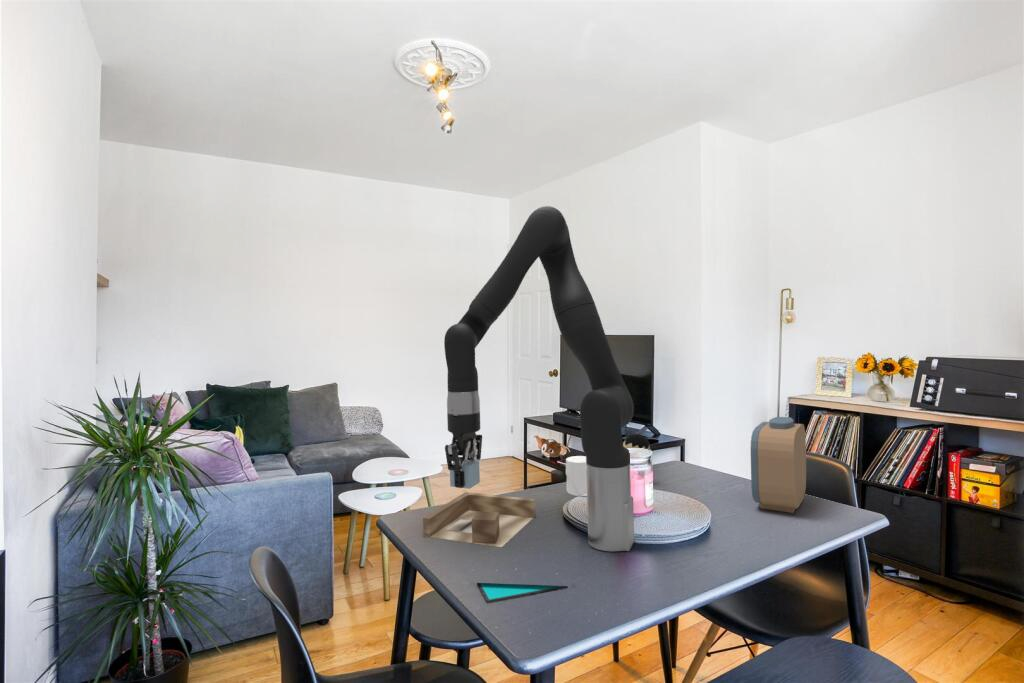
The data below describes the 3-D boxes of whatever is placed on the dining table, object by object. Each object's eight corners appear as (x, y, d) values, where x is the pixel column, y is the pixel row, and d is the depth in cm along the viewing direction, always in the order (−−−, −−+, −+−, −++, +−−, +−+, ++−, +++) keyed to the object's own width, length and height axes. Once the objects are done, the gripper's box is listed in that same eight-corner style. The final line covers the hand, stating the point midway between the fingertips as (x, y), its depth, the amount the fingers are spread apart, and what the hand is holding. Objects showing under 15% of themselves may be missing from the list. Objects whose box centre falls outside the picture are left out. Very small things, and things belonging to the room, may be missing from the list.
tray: (535, 520, 128) (535, 499, 128) (501, 552, 110) (501, 527, 110) (466, 512, 136) (465, 492, 136) (423, 541, 117) (422, 517, 117)
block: (460, 480, 126) (460, 458, 125) (479, 482, 124) (479, 460, 123) (450, 486, 121) (449, 464, 121) (469, 488, 119) (469, 466, 119)
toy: (650, 481, 158) (649, 431, 158) (654, 488, 151) (653, 436, 151) (621, 481, 159) (620, 432, 159) (623, 488, 152) (622, 436, 152)
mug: (559, 457, 153) (582, 454, 156) (559, 490, 153) (582, 485, 156) (582, 466, 142) (607, 462, 146) (583, 501, 142) (607, 496, 146)
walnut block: (499, 534, 117) (498, 512, 117) (495, 543, 112) (494, 520, 112) (477, 534, 117) (476, 511, 117) (472, 543, 112) (471, 519, 112)
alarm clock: (767, 490, 146) (765, 412, 146) (806, 496, 141) (805, 414, 140) (751, 512, 130) (749, 424, 129) (795, 519, 124) (792, 427, 124)
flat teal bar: (476, 581, 96) (553, 568, 101) (476, 586, 96) (553, 572, 101) (487, 601, 89) (568, 585, 94) (487, 606, 89) (568, 590, 94)
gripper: (464, 405, 130) (466, 474, 130) (432, 414, 117) (435, 491, 117) (491, 406, 127) (493, 477, 127) (462, 416, 114) (465, 494, 114)
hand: (465, 483), depth 122 cm, fingers closed on block, 5 cm apart
